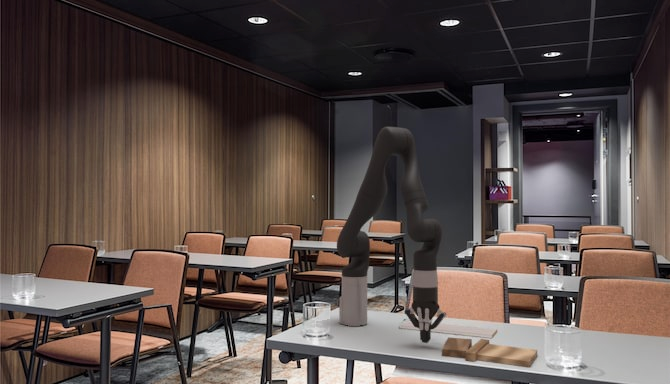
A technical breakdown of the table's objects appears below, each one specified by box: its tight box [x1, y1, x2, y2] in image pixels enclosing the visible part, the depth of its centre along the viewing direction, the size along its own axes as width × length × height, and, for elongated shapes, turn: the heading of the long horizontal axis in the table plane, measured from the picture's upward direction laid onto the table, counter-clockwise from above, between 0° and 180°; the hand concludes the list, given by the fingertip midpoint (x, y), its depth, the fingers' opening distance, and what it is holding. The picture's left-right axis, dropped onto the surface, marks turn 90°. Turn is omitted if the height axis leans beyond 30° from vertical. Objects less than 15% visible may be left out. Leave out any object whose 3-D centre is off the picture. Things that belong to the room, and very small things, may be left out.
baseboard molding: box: [398, 318, 498, 340], centre depth 183 cm, size 31×3×12 cm
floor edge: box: [464, 338, 538, 368], centre depth 152 cm, size 16×17×2 cm
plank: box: [441, 337, 473, 359], centre depth 158 cm, size 2×14×7 cm
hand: (425, 342), depth 163 cm, fingers closed
